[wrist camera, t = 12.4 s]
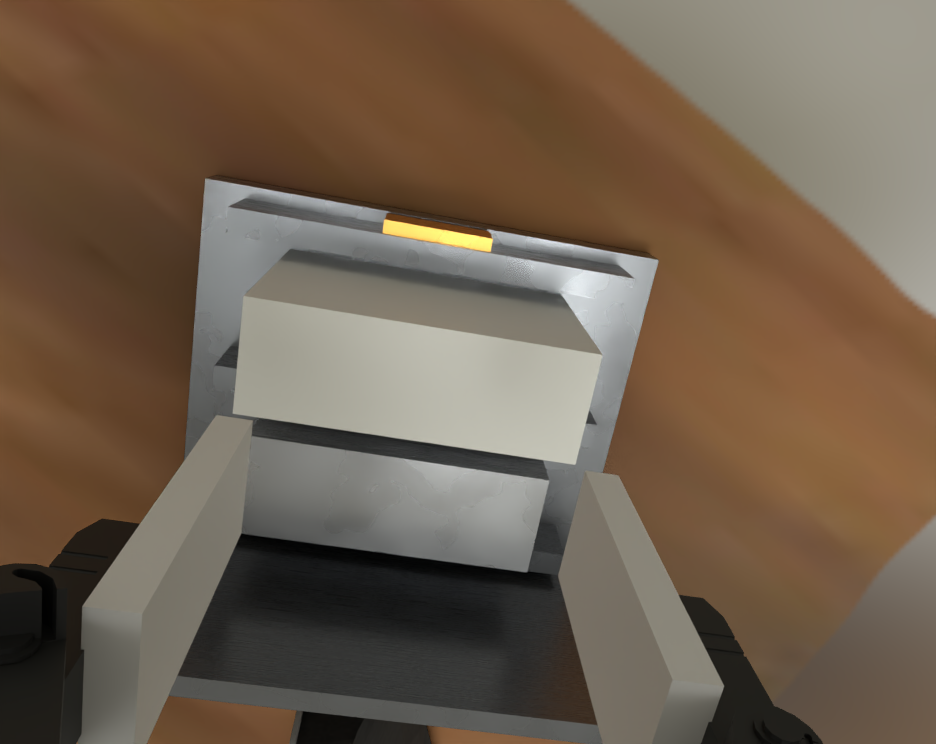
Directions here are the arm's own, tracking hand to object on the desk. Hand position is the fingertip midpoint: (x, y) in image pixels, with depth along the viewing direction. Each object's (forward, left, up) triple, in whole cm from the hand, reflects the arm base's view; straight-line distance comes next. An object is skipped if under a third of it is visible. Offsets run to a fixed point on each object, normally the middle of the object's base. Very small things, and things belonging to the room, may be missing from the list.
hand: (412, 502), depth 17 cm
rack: (0, -3, -17) cm, 17 cm away
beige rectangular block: (0, 0, -16) cm, 16 cm away
